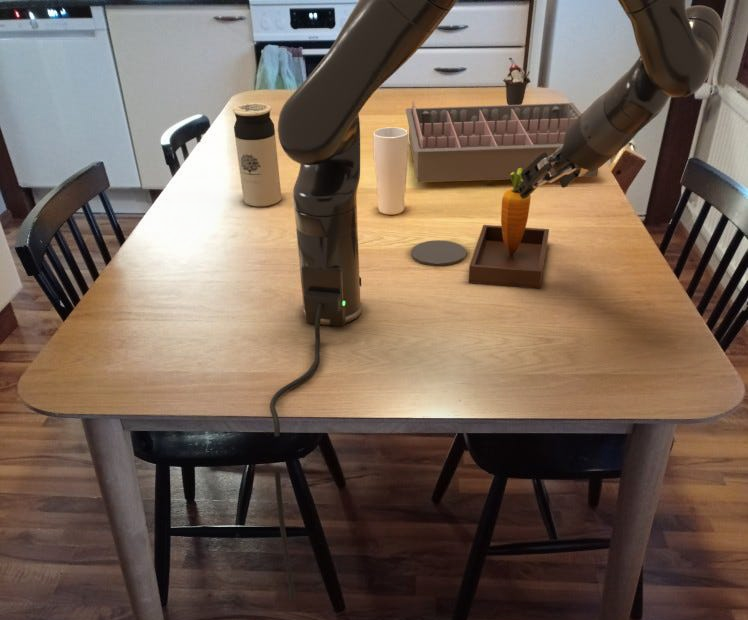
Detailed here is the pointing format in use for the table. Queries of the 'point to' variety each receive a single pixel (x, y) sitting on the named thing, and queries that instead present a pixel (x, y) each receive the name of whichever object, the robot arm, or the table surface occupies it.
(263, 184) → the travel mug
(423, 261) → the metal coaster
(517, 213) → the carrot
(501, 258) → the tray
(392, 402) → the table surface
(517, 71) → the sundae
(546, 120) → the organizer tray
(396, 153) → the drinking glass
